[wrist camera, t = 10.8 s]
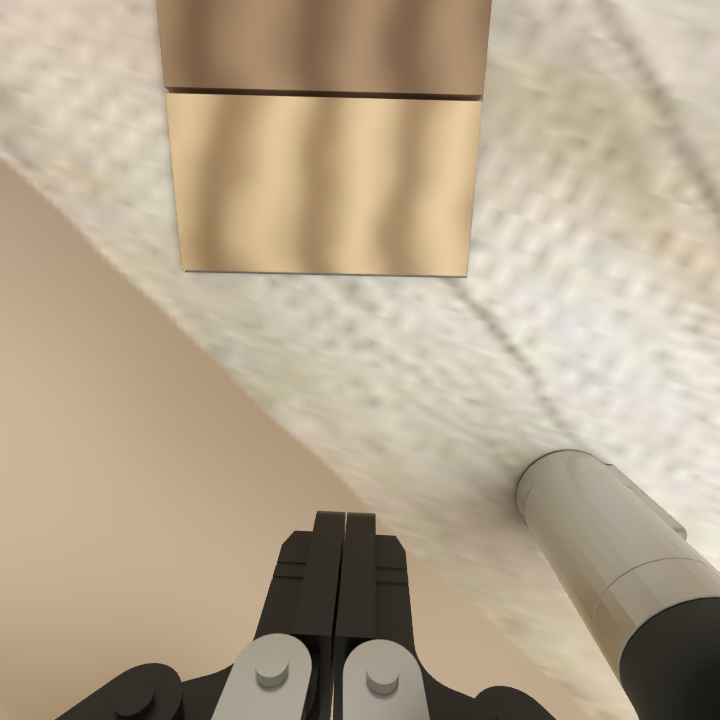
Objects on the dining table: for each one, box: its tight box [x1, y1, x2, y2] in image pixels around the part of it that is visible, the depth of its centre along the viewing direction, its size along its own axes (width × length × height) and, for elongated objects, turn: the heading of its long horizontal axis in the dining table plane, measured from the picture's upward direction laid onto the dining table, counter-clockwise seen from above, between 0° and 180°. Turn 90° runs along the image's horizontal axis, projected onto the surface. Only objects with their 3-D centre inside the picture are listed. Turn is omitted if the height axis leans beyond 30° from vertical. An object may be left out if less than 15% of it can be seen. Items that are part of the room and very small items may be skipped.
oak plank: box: [165, 93, 483, 276], centre depth 32 cm, size 22×12×2 cm, turn 89°
